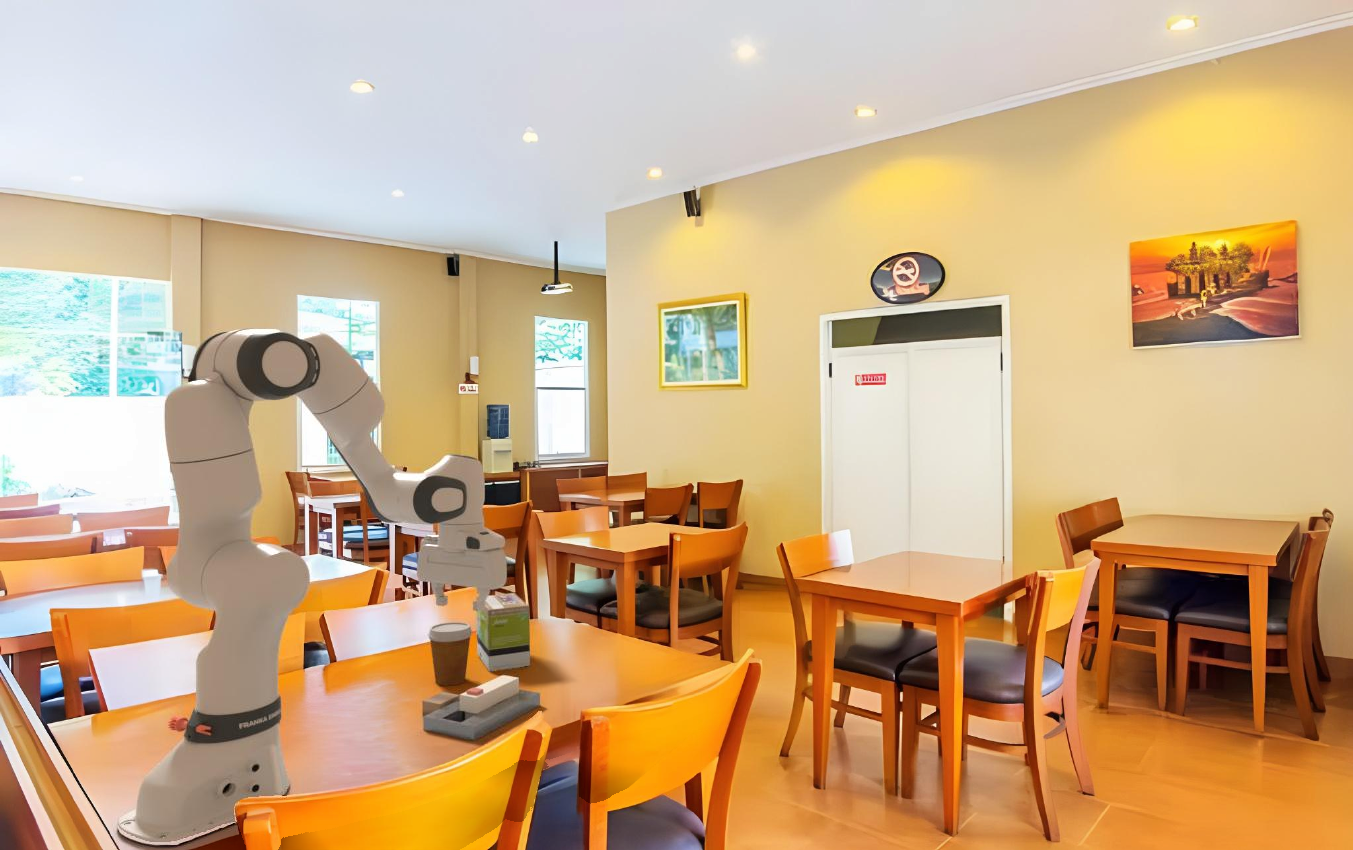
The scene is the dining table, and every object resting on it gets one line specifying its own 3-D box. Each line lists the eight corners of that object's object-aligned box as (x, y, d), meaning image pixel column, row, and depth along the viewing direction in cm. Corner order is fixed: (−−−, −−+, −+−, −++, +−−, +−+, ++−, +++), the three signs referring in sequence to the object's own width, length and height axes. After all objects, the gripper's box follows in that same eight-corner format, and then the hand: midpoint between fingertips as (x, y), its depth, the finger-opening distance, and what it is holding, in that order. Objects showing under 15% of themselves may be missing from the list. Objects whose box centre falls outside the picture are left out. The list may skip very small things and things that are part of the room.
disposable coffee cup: (460, 689, 170) (460, 633, 170) (419, 686, 172) (419, 631, 172) (479, 675, 180) (479, 622, 180) (441, 673, 181) (441, 620, 181)
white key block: (476, 725, 149) (476, 694, 149) (459, 722, 151) (459, 691, 151) (518, 703, 161) (518, 674, 161) (503, 700, 162) (502, 672, 162)
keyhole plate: (474, 741, 142) (474, 727, 142) (423, 729, 148) (423, 716, 148) (540, 705, 160) (540, 693, 160) (492, 696, 166) (492, 684, 166)
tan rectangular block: (439, 719, 153) (439, 704, 153) (422, 716, 155) (422, 700, 155) (459, 710, 158) (459, 695, 158) (442, 706, 160) (442, 692, 160)
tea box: (475, 655, 195) (475, 595, 195) (516, 650, 200) (515, 591, 200) (488, 672, 182) (487, 608, 182) (531, 667, 186) (531, 604, 186)
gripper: (409, 535, 158) (408, 605, 158) (490, 542, 149) (489, 616, 148) (432, 532, 163) (431, 599, 163) (512, 538, 154) (511, 610, 154)
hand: (460, 607), depth 156 cm, fingers open, 8 cm apart
